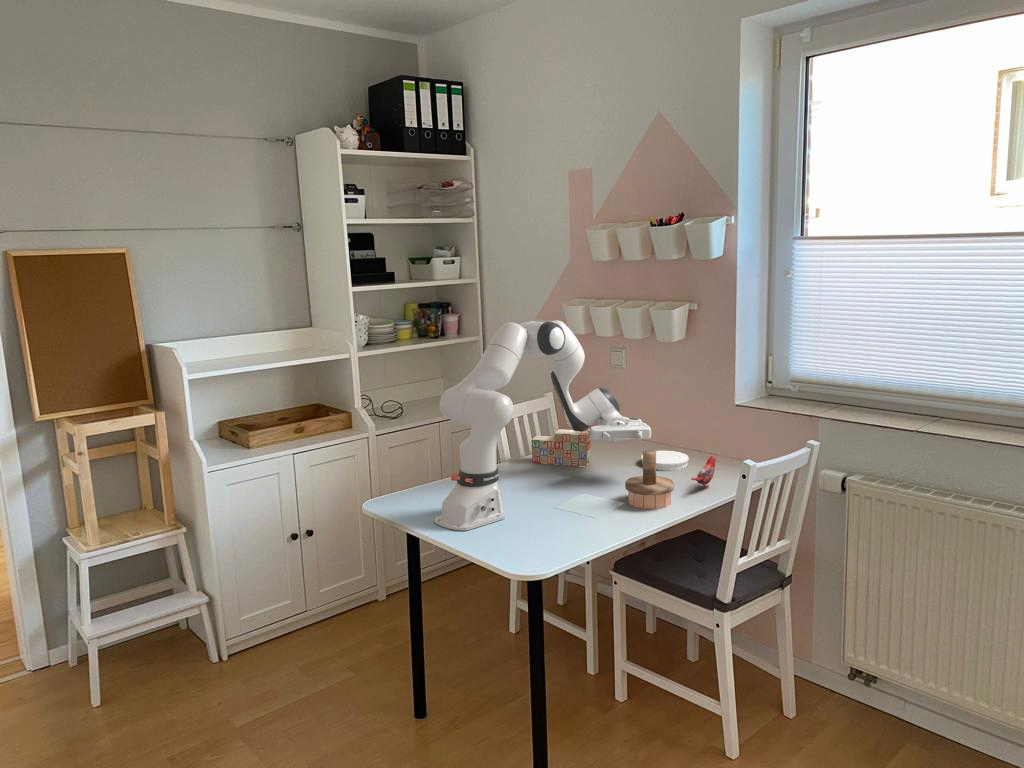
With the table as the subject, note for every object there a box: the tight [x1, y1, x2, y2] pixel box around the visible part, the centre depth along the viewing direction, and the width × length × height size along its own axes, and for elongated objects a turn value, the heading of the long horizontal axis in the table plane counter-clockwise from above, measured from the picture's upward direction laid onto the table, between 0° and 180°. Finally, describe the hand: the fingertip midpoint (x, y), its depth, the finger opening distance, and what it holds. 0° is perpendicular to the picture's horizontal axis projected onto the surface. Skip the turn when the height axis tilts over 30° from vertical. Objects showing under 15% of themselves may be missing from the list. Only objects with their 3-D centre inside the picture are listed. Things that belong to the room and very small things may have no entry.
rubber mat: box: [553, 493, 626, 519], centre depth 242 cm, size 16×16×1 cm
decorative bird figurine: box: [690, 455, 717, 490], centre depth 252 cm, size 3×18×10 cm, turn 141°
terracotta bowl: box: [627, 490, 672, 510], centre depth 243 cm, size 13×13×5 cm
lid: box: [640, 450, 690, 471], centre depth 284 cm, size 17×20×3 cm
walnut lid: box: [624, 449, 675, 495], centre depth 241 cm, size 15×15×12 cm
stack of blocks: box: [531, 428, 592, 468], centre depth 288 cm, size 21×6×12 cm, turn 69°
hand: (624, 438), depth 253 cm, fingers open, 8 cm apart
